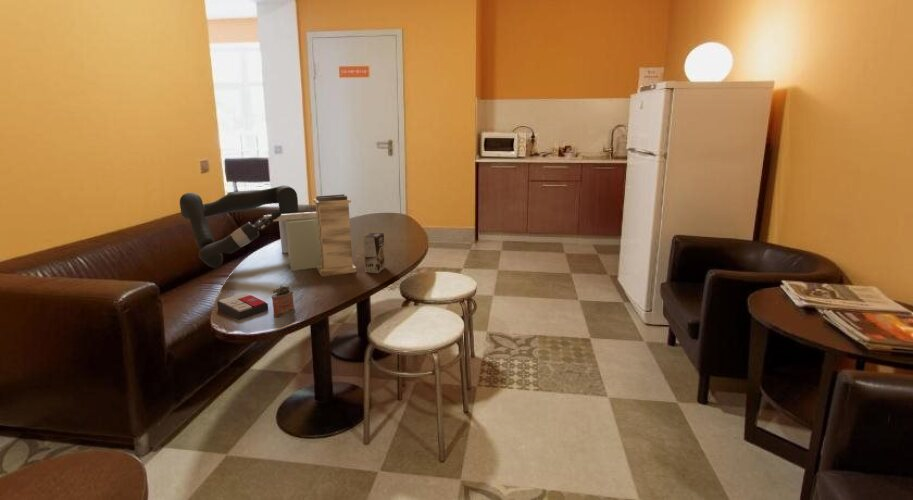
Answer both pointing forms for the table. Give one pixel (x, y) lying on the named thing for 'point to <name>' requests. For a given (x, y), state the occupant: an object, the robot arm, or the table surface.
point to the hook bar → (295, 216)
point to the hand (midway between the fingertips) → (279, 212)
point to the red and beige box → (242, 306)
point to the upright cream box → (303, 243)
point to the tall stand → (334, 235)
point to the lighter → (282, 301)
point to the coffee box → (374, 252)
